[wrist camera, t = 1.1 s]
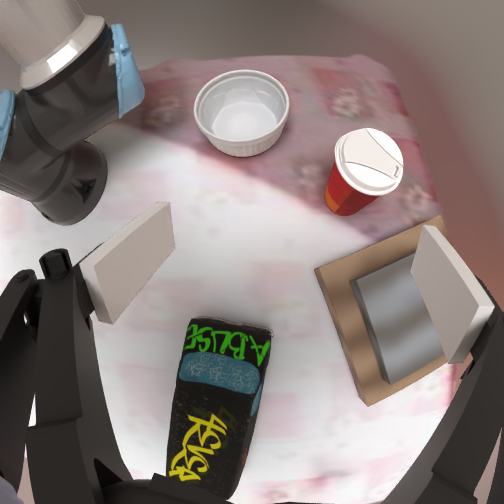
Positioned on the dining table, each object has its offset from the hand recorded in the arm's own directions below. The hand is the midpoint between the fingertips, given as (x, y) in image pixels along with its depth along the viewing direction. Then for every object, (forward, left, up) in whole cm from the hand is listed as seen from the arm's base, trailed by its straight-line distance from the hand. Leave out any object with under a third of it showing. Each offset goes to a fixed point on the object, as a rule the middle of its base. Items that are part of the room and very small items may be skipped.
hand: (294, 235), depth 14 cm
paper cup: (-6, +13, -26) cm, 29 cm away
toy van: (+15, -14, -26) cm, 33 cm away
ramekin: (-22, +4, -26) cm, 34 cm away
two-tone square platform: (+12, +15, -25) cm, 32 cm away
